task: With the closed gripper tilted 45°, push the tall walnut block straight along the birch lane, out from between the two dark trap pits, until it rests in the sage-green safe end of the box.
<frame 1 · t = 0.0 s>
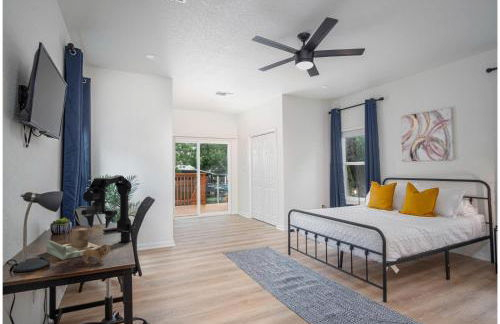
hand: (98, 227, 165), 15 cm above the table, tool pointing down, fingers open, 9 cm apart
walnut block: (79, 246, 170), point 2 cm above the table, touching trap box
lion figurine: (95, 262, 150), on the table
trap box: (74, 251, 168), on the table
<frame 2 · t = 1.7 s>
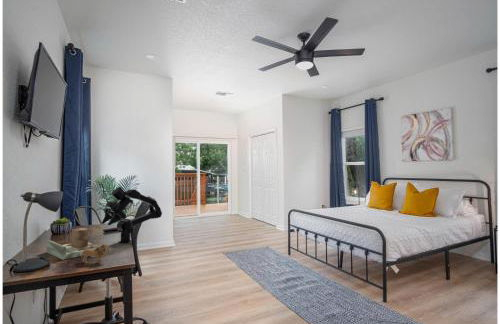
hand: (105, 224, 182), 14 cm above the table, tool tilted 45°, fingers open, 7 cm apart
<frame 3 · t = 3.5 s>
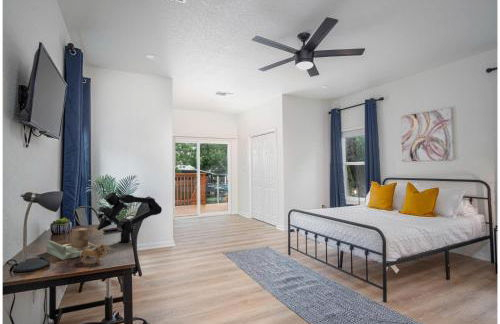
hand: (97, 229, 179), 11 cm above the table, tool tilted 45°, fingers closed
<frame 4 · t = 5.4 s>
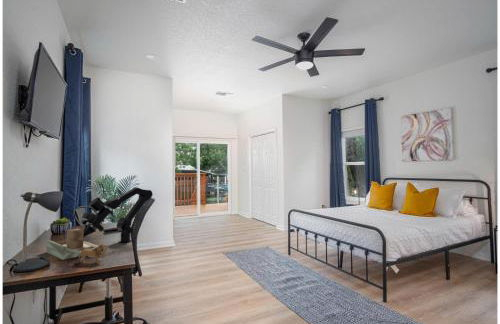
hand: (81, 237, 171), 8 cm above the table, tool tilted 45°, fingers closed, pressing on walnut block
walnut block: (74, 247, 168), point 3 cm above the table, touching gripper
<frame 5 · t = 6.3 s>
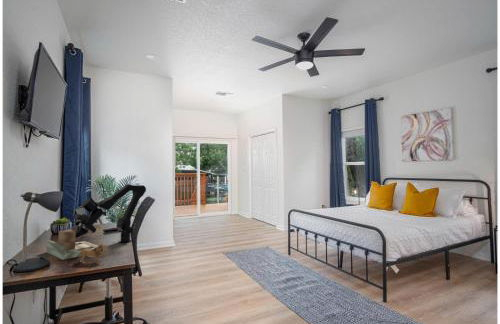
hand: (73, 238, 168), 8 cm above the table, tool tilted 45°, fingers closed, pressing on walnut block
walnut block: (66, 248, 165), point 2 cm above the table, touching gripper, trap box
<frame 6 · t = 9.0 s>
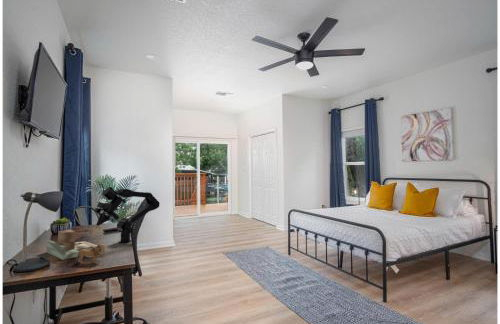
hand: (97, 225, 178), 14 cm above the table, tool tilted 40°, fingers closed
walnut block: (66, 249, 165), point 2 cm above the table, touching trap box
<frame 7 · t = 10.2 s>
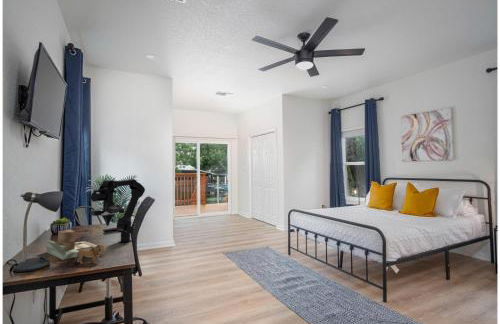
hand: (107, 225, 180), 13 cm above the table, tool pointing down, fingers closed
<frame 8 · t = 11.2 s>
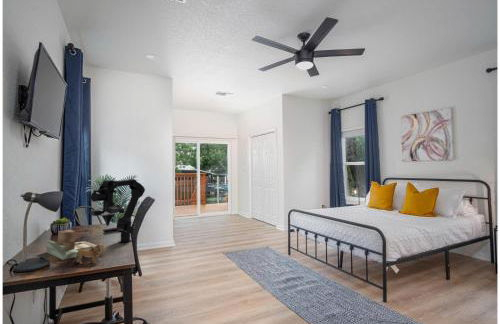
hand: (107, 225, 180), 13 cm above the table, tool pointing down, fingers closed
at the end: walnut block 0.9 cm from the target spot, point 2.5 cm above the table; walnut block tilted 0° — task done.
